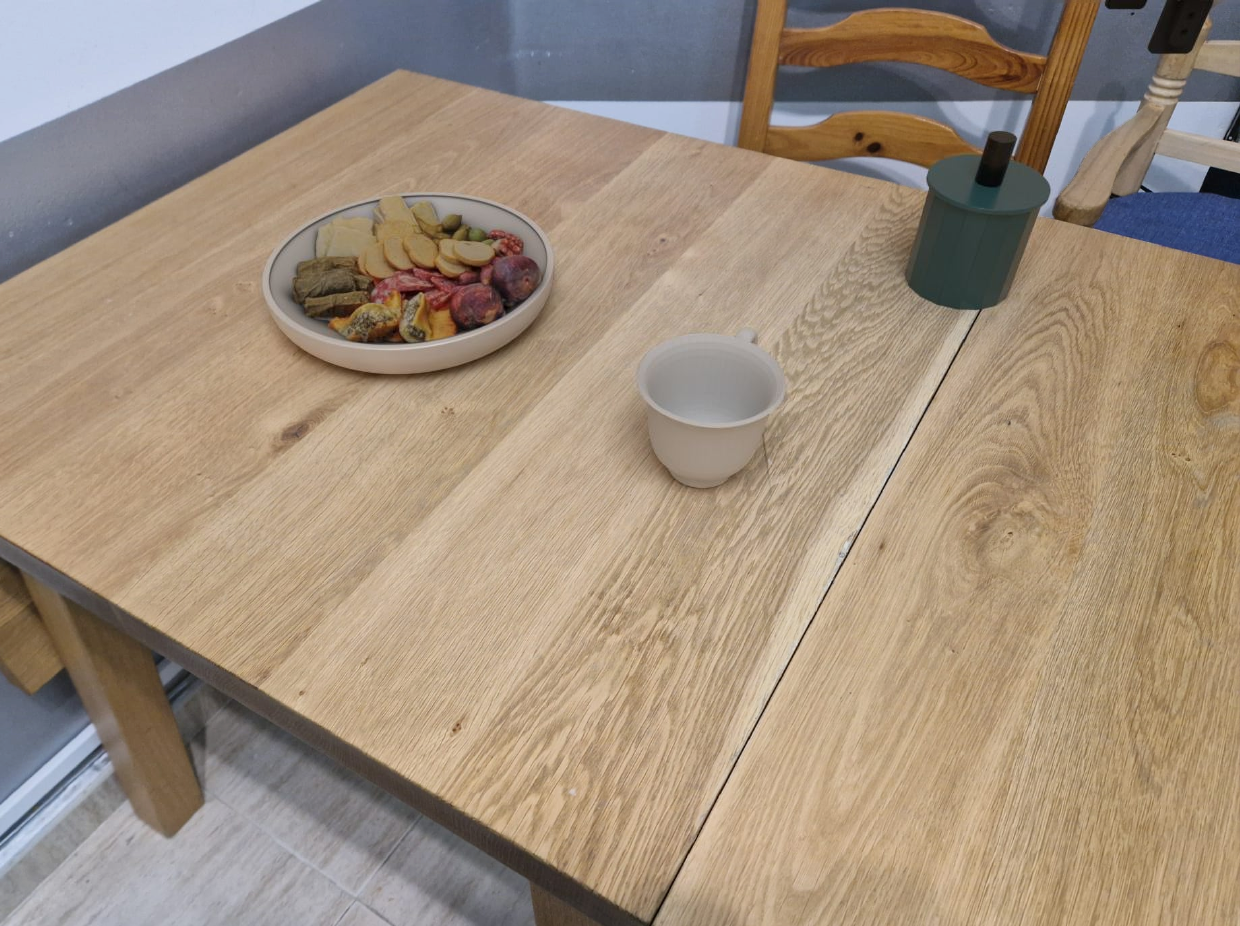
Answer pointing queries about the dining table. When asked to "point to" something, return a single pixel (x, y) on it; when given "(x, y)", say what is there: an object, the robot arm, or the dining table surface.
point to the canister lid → (989, 180)
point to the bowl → (409, 281)
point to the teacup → (708, 403)
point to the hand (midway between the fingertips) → (1144, 29)
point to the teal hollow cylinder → (966, 255)
